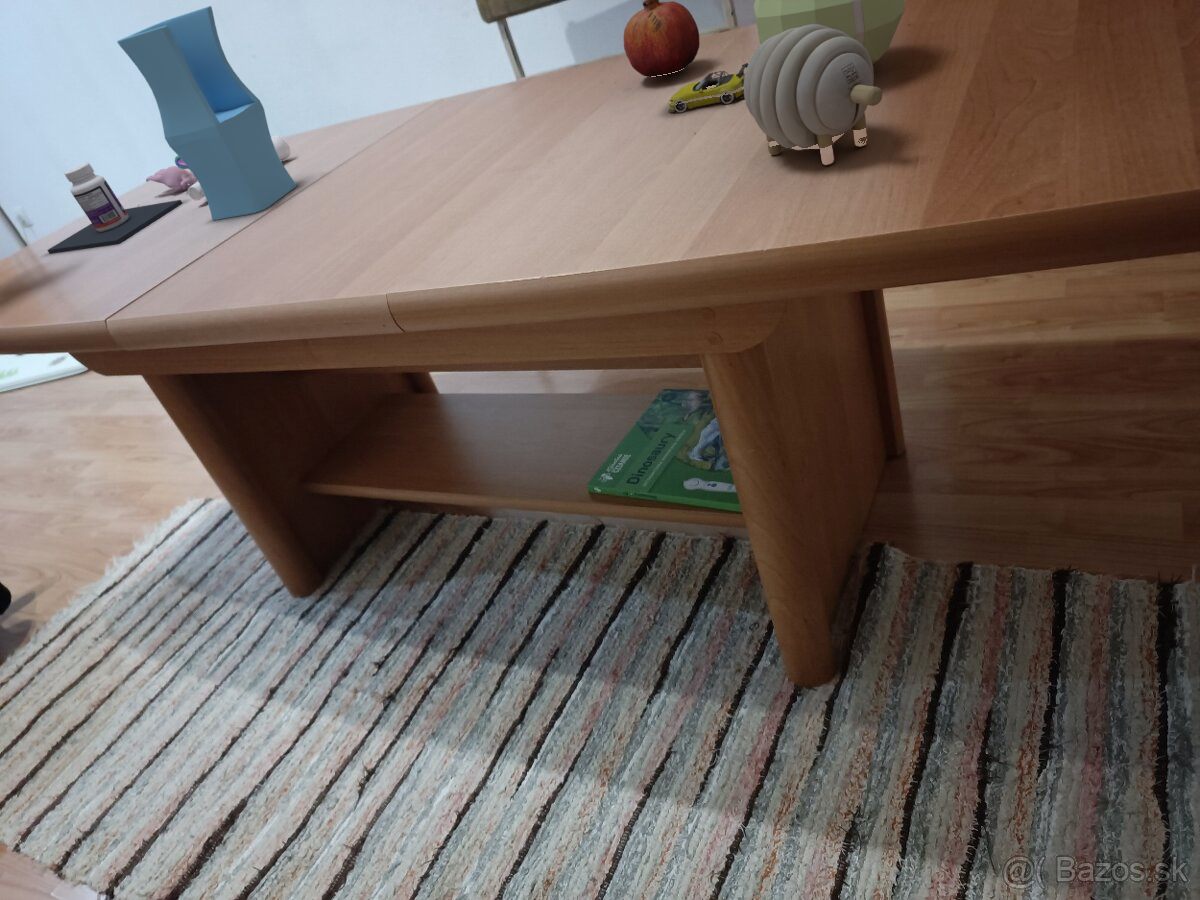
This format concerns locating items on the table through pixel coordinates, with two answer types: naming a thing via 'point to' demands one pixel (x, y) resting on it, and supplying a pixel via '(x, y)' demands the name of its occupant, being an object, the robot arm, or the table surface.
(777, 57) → the toy sheep
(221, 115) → the vase
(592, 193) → the table surface
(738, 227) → the table surface
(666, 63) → the fruit
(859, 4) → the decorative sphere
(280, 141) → the binoculars
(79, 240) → the mat
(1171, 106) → the table surface
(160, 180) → the pink figurine
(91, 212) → the pill bottle
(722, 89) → the toy car
